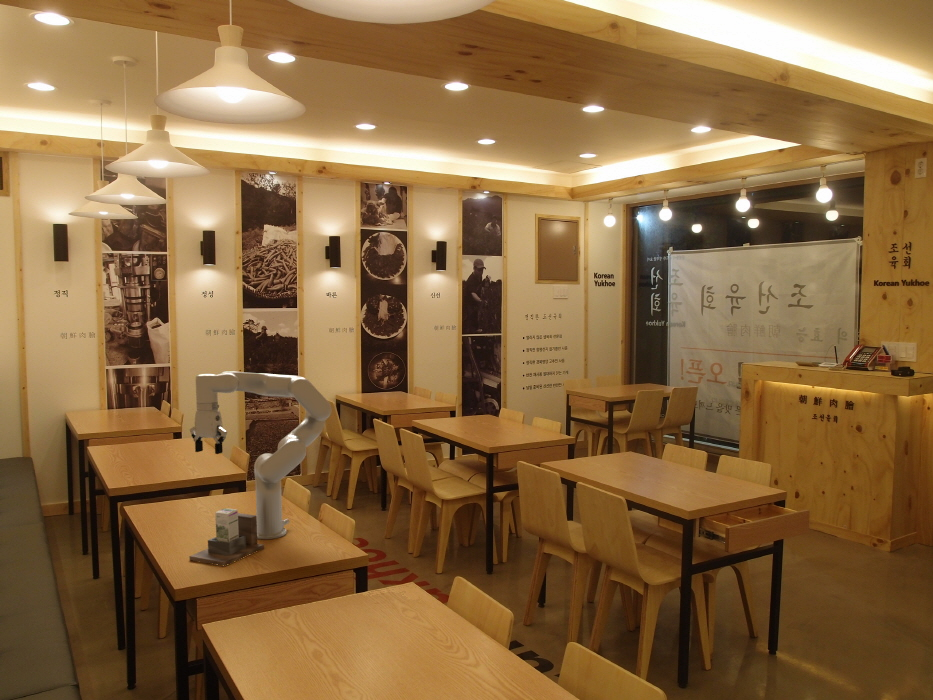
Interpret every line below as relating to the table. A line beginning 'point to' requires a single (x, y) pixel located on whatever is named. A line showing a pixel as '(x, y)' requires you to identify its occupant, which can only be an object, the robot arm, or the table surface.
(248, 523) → the post bracket stand
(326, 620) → the table surface
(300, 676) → the table surface
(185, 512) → the table surface
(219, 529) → the syrup box
